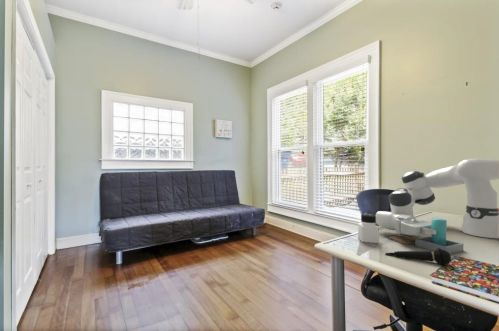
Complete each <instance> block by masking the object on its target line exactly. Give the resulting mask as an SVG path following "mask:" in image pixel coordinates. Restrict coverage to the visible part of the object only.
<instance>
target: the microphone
mask: <svg viewBox="0 0 499 331" xmlns="http://www.w3.org/2000/svg"><path fill="white" fill-rule="evenodd" d="M385 255H386V256H391V257H395V258H401V259H408V260H417V261H424V262H425V261H426V262H435V263H437V264H438V265H440V266H444V265H448V264H450V263H451V261H452V256H451V254H449V253H448V252H447V251H446V250H443V249H441V248H437V249H436V250H435V251H432V250H411V251H410V250H404V251H401V250H400V251H399V250H398V251H394V252H385Z"/></svg>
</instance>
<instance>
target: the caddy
mask: <svg viewBox="0 0 499 331" xmlns="http://www.w3.org/2000/svg"><path fill="white" fill-rule="evenodd" d="M418 238H419V237H418ZM414 243H415V246H416V247H420V248H422V249H425V250H426V249H427V250H428V251H432V252H434V251H435V250H436V249H437V248H441V249H443V250H446V251H447V252H448V253H449V254H450V255H451V254H452V255H453V254H455V253H460V252H463V251H464V243H461V242H457V241H454V240H453V241H452V240H449V239H446V247H445V246H441V245H438V244H434V243H431V236H427V237H420V238H419V239H416V240H415V242H414Z"/></svg>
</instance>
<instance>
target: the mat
mask: <svg viewBox="0 0 499 331" xmlns="http://www.w3.org/2000/svg"><path fill="white" fill-rule="evenodd" d="M416 239H419V237H416V236H413V235H408V234H399V235H394V236H389V237H388V240H391V241H394V242H397V243H401V244H403V245H408V244H413V243H415V240H416Z"/></svg>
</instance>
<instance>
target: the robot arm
mask: <svg viewBox="0 0 499 331" xmlns="http://www.w3.org/2000/svg"><path fill="white" fill-rule="evenodd" d="M401 180H402V183H403V184H404V186H405V187H402V188H400V187H399V188H396V189H395V190H394V191H392V192H391V193H390V194H389V195H388V201H389V205H390V211H386V210H385V211H384V210H383V211H382V210H379V211H377V212H376V213H375V216H376V226H378V227H379V228H380V227H381V228H382V229H386V230H390V231H395V233H396V234H398V235H408V236H419V235H425V234H427V235H431V234H433V235H436V234H438V233H437V232H438V231H437V230H434V229H431V224H432V220H431V221H429V220H418V219H417V218H416V217H415V214H414V206H415V204H417V205H420V206H426V205H429V204H432V203H433V202H434V201H435V200H436V196H435V193H434V192H433V190H432V189H433V188H435V189H440V188H441V189H442V188H448V187H454V186H460V185H465V189H466V193H467V194H466V197H467V202H466V203H467V204H466V206H465V212H466V213H465V214H464V215H463V216H462V223H461V224H462V225H461V227H459V228H458V231H460V232H463V234H464V233H465V234H467V235H470V236H476V237H481V238H488V239H499V208H498V194H497V191H496V190H495V189H494V187H493V186H492V183H491V181H497V180H499V160H498V159H496V158H495V159H494V158H474V157H473V158H468V159H464V160H462V161H460V162H458V163H457V164H455V165H451V166H446V167H443V168H439V169H436V170H433V171H430V172H429V173H427V174H425V173H424V172H420V171H417V170H413V171H407V172H406V173H405V174H403V175H402V176H401ZM446 233H447V229H446Z"/></svg>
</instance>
